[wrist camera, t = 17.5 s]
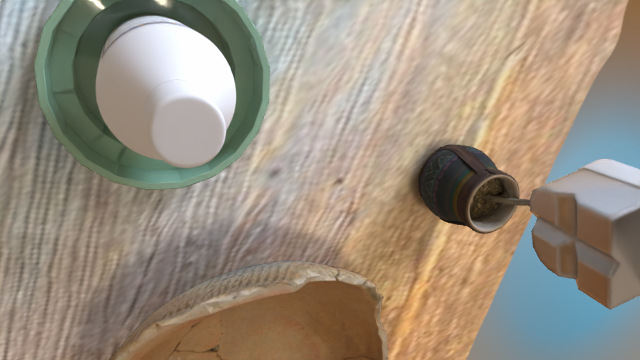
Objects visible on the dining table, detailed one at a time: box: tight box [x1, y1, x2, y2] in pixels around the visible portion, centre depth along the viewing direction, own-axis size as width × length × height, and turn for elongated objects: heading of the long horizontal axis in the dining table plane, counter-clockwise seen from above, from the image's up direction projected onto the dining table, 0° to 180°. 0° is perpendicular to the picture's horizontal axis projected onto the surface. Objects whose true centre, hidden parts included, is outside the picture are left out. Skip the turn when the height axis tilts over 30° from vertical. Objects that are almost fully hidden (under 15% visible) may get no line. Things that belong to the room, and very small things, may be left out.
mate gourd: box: [418, 145, 530, 234], centre depth 45 cm, size 7×8×10 cm
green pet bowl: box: [34, 0, 270, 190], centre depth 35 cm, size 14×14×6 cm
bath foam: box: [96, 14, 236, 168], centre depth 28 cm, size 7×7×20 cm
